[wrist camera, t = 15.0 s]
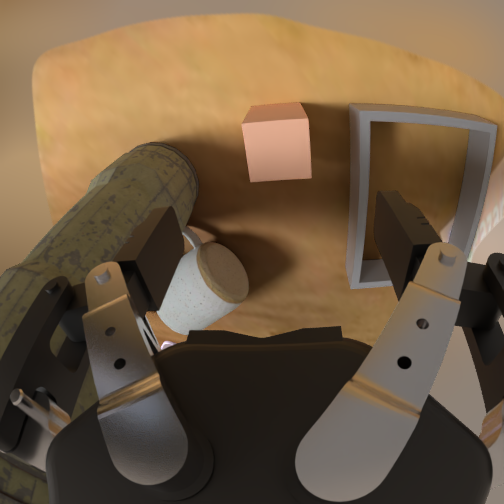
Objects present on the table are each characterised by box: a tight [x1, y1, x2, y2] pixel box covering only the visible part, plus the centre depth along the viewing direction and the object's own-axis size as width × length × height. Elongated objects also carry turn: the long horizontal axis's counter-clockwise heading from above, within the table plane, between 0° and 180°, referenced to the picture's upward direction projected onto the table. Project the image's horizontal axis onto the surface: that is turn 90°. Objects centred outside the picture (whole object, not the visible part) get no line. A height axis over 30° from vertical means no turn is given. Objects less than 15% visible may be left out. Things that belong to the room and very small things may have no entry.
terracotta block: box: [242, 103, 312, 182], centre depth 20 cm, size 4×4×7 cm
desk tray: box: [346, 103, 497, 289], centre depth 24 cm, size 18×14×4 cm
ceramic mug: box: [156, 226, 249, 335], centre depth 29 cm, size 11×8×8 cm
